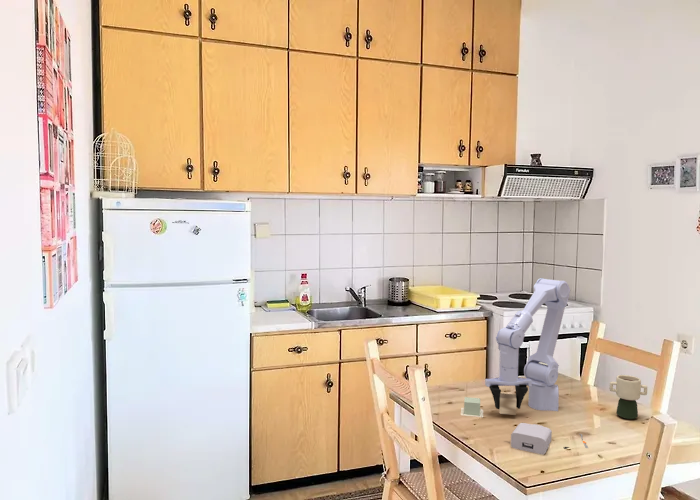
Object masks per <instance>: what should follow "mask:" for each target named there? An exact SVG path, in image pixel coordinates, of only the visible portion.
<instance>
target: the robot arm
mask: <svg viewBox="0 0 700 500" xmlns="http://www.w3.org/2000/svg"><path fill="white" fill-rule="evenodd" d="M570 294H571V288H570V286H569V284H568V282H567V281H566V280H563V279H562V280H558V279H549V278H543V277H541V278H538V279H537V280H536V282H535V284H534V285H533V293H532V295H531V296H530V298H529V300H528V301H527V303H526V305H525V306H524V308H523V309H522V310H517V311H516V312H515V314H514V316H513V317H512V318H511V319H510V321H509V322H508V324H507V325H506V326H505V327H502V328H500V329H499V330H498V331H497V333H496V334H497V335H496V337H495V341H496V343H497V346H498V347H497V349H498V351H499V370H498V371H499V373H498V374H499V375H498V377H493V378H485V379H484V386H486V387H488V388H489V390H490V392H491V394H492V398H493V402H494V407H495V408H496V409H497V410H499V408H500V393H502V390H501V389H500V387H503V386H504V387H507V386H508V387H509V386H510V387H511V386H512V387H514V388H515V394H516V399H517V402H516V409H517V410H519V409H521V406H522V402H523V400H524V398H525V396H526V394H527V393H528V402H527V403H528V407H529V408H531V409H534V410H537V411H549V412H550V411H551V412H559V399H560V398H559V386H558V384H556V382H557V380H558V378H559V366H560V365H559V363H558V362H557V361H556V359H555V358H554V353H555V349H556V345H557V342H558V336H559V332H560V329H561V325H562V321H563V317H564V313H565V310H566V307H567V306H568V301H569V297H570ZM543 305H545V306H546V307H547V310H546V314H545V318H544V321H543V325H542V329H541V334H540V337H539V341H538V344H537V348H536V352H535V353H532V354H531V355H529V356H528V359H527V361H526V364H525V365H524V368H523V374H524V378H523V377H519V355H520V354H519V349H520V347H521V346H522V345H523V343H524V338H525V336H526V332H527V331H528V329H529V328H530V327H531V325H532V323H533V321H534V320H533V316H534V315H535V314H536V313H537V311H538V310H539V309H540V308H541V307H542V306H543Z"/></svg>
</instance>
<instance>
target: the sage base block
mask: <svg viewBox="0 0 700 500" xmlns="http://www.w3.org/2000/svg"><path fill="white" fill-rule="evenodd" d="M463 408H464V414H467V415H477V416H480V409H481V398H479V397H467V396H464V400H463Z"/></svg>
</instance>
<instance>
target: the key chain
mask: <svg viewBox="0 0 700 500" xmlns="http://www.w3.org/2000/svg"><path fill="white" fill-rule="evenodd" d="M579 435H580V439H581V441H582V443H583V445H584V447H585V449H589V447H588V445H587V442H586V440H585V441H584V440H583V439H584V438H583V434H582V433H579ZM569 448H570V447H569V446H563V449H564V450H567V449H569Z"/></svg>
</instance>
